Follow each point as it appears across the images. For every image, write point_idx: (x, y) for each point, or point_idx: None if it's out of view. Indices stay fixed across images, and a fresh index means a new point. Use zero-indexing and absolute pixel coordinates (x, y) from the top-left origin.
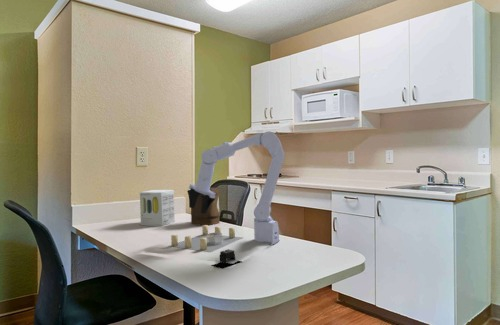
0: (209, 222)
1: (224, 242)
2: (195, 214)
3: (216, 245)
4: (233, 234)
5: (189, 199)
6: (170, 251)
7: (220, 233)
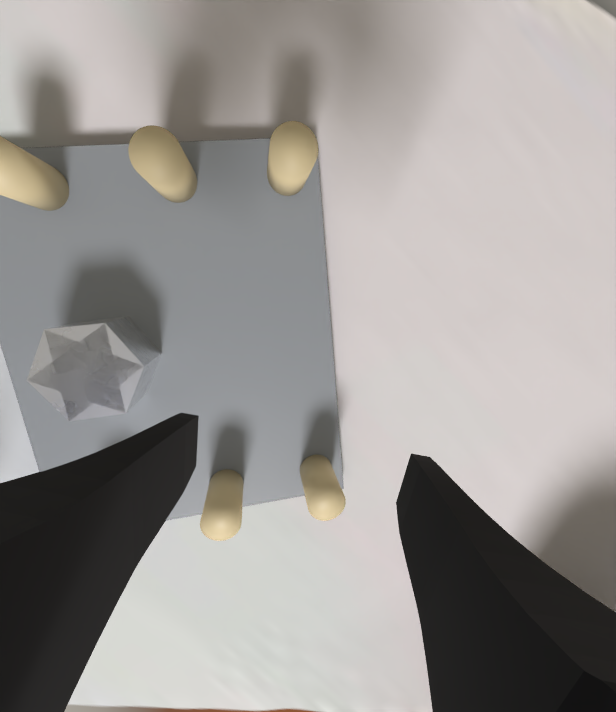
0: None
1: None
2: None
3: (53, 310)
4: None
5: (490, 526)
6: (257, 110)
7: (63, 402)
